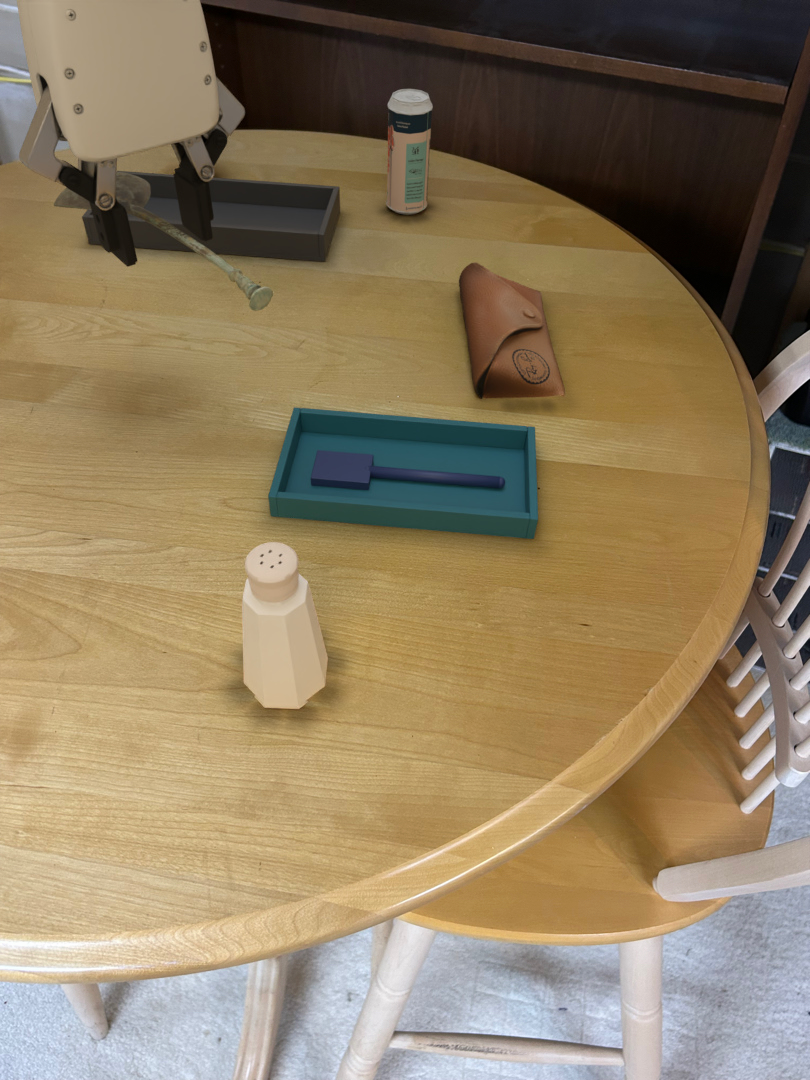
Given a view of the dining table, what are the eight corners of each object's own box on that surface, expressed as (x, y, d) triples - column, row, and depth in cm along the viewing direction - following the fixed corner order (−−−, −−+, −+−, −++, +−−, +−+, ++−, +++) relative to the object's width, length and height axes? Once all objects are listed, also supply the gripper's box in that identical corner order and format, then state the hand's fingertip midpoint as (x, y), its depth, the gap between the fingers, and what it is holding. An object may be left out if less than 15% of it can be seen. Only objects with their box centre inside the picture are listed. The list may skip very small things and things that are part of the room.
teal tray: (271, 520, 59) (267, 496, 57) (295, 431, 66) (293, 406, 64) (533, 543, 58) (538, 519, 56) (530, 450, 65) (535, 426, 63)
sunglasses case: (573, 398, 69) (544, 341, 65) (498, 431, 71) (465, 378, 67) (540, 288, 81) (514, 233, 77) (477, 319, 83) (448, 267, 79)
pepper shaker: (226, 692, 49) (197, 578, 41) (271, 627, 52) (253, 509, 44) (304, 726, 48) (291, 614, 40) (345, 656, 51) (341, 540, 43)
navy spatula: (310, 485, 61) (310, 476, 60) (317, 457, 63) (317, 448, 62) (504, 501, 60) (505, 493, 60) (504, 473, 62) (506, 464, 62)
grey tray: (89, 244, 85) (81, 216, 83) (123, 196, 93) (117, 170, 90) (325, 261, 84) (323, 234, 82) (340, 212, 92) (339, 186, 89)
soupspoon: (122, 189, 63) (46, 219, 60) (109, 145, 60) (29, 174, 57) (303, 292, 52) (221, 334, 49) (297, 243, 50) (210, 285, 47)
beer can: (401, 194, 95) (405, 83, 86) (435, 206, 93) (442, 94, 85) (377, 208, 93) (378, 96, 84) (411, 221, 91) (416, 107, 82)
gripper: (202, -110, 48) (238, 193, 61) (-98, -79, 40) (18, 259, 54) (273, -84, 44) (294, 231, 58) (-44, -45, 36) (66, 309, 50)
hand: (160, 242), depth 55 cm, fingers closed on soupspoon, 5 cm apart
